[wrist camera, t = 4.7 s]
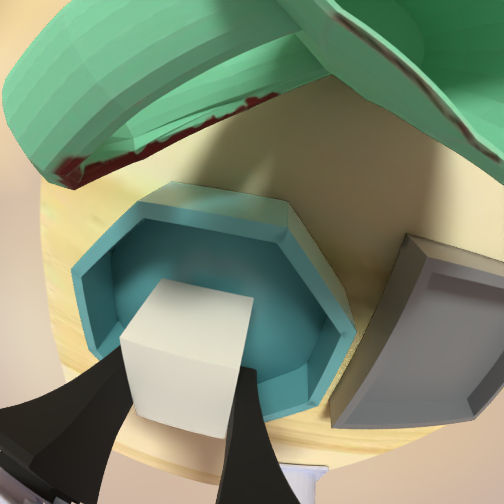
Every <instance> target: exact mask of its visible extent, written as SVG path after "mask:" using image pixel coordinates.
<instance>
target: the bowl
mask: <svg viewBox="0 0 504 504" xmlns="http://www.w3.org/2000/svg"><path fill="white" fill-rule="evenodd" d="M71 273H72V279H73V285H74V290H75V295H76V300H77V305H78V310H79V314H80V318H81V322H82V327H83V330H84V334H85V338H86V342H87V345H88V349H89V351H90V352H91V353H92V354H93V355H94V356H95V357H96V358H97V359H98V360H99V361H100V360H102V359H103V358H104V357H106V356H107V355H108V354H109V353H111V352H112V351H113V350H114V349H116V348H117V347H118V346H119V345H120V344H121V343H120V338H119V337H120V336H121V335H122V333H123V332H124V330H125V329H126V327H127V326H128V324H129V323H130V322H131V320H132V319H133V317H134V316H135V315H136V313H137V312H138V310H139V309H140V308H141V306H142V305H143V303H144V302H145V301H146V299H147V298H148V297H149V295H150V294H151V292H152V291H153V290H154V288H155V287H156V286H157V284H158V283H159V282H160V280H161V279H162V278H164V279H169V280H173V281H177V282H182V283H186V284H190V285H195V286H199V287H204V288H209V289H213V290H218V291H223V292H228V293H232V294H237V295H242V296H247V297H252V298H254V300H253V305H252V310H251V315H250V320H249V325H248V330H247V335H246V340H245V345H244V350H243V355H242V359H241V364H240V366H243V367H248V368H253V369H255V370H256V371H257V387H258V395H259V401H260V406H261V411H262V415H263V419H264V422H268V421H272V420H275V419H279V418H282V417H285V416H289V415H292V414H295V413H298V412H302V411H305V410H308V409H311V408H313V407H316V406H318V405H319V403H320V402H321V400H322V398H323V396H324V395H325V393H326V391H327V389H328V388H329V386H330V384H331V382H332V380H333V379H334V377H335V375H336V373H337V371H338V369H339V367H340V365H341V363H342V362H343V360H344V358H345V356H346V354H347V352H348V350H349V348H350V346H351V344H352V342H353V340H354V337H355V335H356V333H357V331H356V327H355V323H354V320H353V316H352V312H351V309H350V305H349V302H348V298H347V295H346V291H345V288H344V287H343V285H342V284H341V282H340V280H339V279H338V277H337V276H336V274H335V272H334V271H333V269H332V268H331V266H330V264H329V263H328V261H327V260H326V258H325V257H324V255H323V253H322V252H321V250H320V249H319V247H318V246H317V244H316V243H315V241H314V240H313V238H312V237H311V235H310V233H309V232H308V230H307V229H306V227H305V226H304V224H303V223H302V221H301V220H300V218H299V217H298V216H297V214H296V213H295V211H294V210H293V208H292V207H291V205H290V204H289V202H288V201H284V200H279V199H274V198H268V197H263V196H258V195H252V194H247V193H241V192H236V191H230V190H224V189H218V188H212V187H206V186H199V185H193V184H186V183H179V182H173V181H172V182H170V183H168V184H166V185H165V186H163V187H161V188H159V189H157V190H156V191H154V192H152V193H150V194H149V195H147V196H145V197H143V198H142V199H140V200H138V201H137V202H136V203H135V204H134V205H133V206H132V207H131V208H130V209H129V210H128V211H126V212H125V213H124V214H123V215H122V216H121V217H120V218H119V219H118V220H117V221H116V222H115V223H114V224H113V225H112V226H111V227H110V228H109V229H108V230H107V231H106V232H105V233H104V234H103V235H102V236H101V237H100V238H99V239H98V240H97V241H96V242H95V244H94V245H93V246H92V247H91V248H90V249H89V250H88V251H87V252H86V253H85V254H84V255H83V256H82V257H81V259H80V260H79V261H78V262H77V263H76V264H75V265H74V266H73V267H72V269H71ZM227 427H228V426H227Z"/></svg>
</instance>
